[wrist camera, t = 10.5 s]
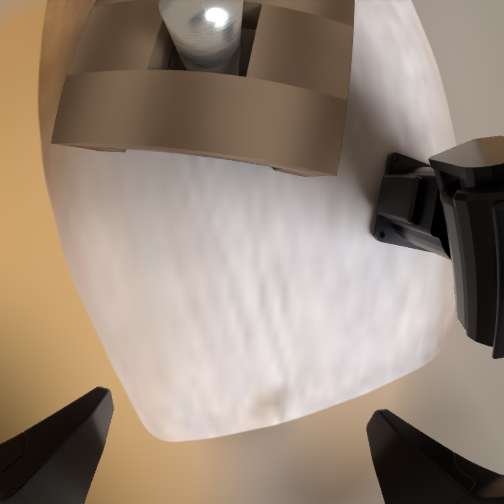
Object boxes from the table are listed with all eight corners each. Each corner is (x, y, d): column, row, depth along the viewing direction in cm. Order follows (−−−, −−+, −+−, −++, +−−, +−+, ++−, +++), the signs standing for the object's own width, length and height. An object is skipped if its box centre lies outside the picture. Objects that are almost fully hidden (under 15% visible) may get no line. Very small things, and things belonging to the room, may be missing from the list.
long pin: (242, 56, 15) (250, -25, 7) (234, 97, 16) (234, 30, 7) (195, 52, 15) (171, -27, 6) (185, 92, 16) (148, 27, 7)
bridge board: (325, 26, 15) (354, -16, 9) (304, 176, 18) (336, 175, 12) (140, 7, 14) (115, -35, 8) (100, 151, 16) (51, 143, 11)
